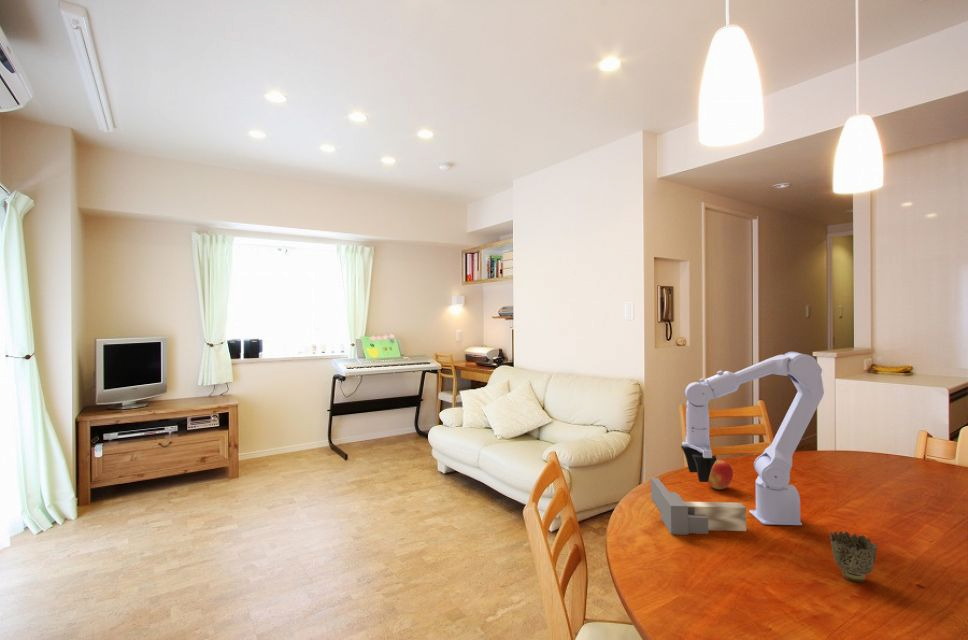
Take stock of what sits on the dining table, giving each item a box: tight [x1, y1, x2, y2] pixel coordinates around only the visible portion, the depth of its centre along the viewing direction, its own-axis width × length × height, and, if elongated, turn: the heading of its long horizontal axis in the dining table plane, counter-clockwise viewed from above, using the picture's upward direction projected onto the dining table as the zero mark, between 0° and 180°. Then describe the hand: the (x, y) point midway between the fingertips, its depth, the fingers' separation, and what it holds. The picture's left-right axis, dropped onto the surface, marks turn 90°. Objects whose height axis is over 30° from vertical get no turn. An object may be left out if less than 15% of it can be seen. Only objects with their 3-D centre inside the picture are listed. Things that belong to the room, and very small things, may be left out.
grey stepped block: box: [650, 477, 709, 536], centre depth 126 cm, size 9×23×7 cm, turn 175°
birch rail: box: [684, 501, 747, 532], centre depth 119 cm, size 14×3×6 cm, turn 85°
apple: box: [706, 454, 734, 490], centre depth 146 cm, size 8×8×10 cm
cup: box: [829, 530, 878, 583], centre depth 95 cm, size 8×7×8 cm
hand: (698, 476), depth 129 cm, fingers open, 7 cm apart
